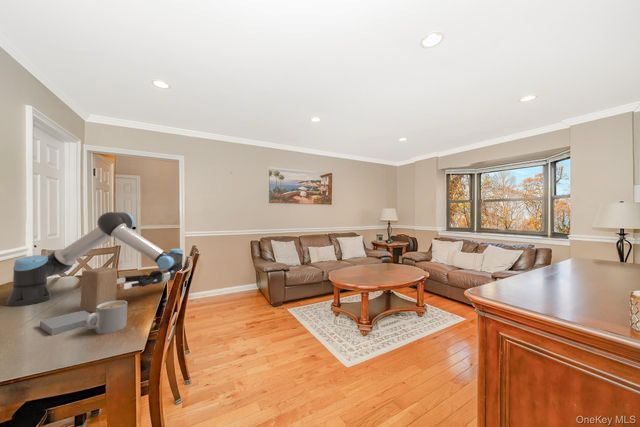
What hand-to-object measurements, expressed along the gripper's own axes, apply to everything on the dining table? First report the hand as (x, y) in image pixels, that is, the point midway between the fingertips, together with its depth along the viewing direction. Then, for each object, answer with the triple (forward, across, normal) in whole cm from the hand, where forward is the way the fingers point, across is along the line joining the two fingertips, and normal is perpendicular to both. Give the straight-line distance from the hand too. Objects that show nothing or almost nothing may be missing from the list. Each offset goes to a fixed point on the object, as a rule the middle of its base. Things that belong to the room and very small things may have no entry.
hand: (117, 284), depth 130 cm
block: (+7, 0, -11) cm, 13 cm away
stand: (+21, -10, -11) cm, 26 cm away
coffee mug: (+15, -28, -11) cm, 34 cm away
